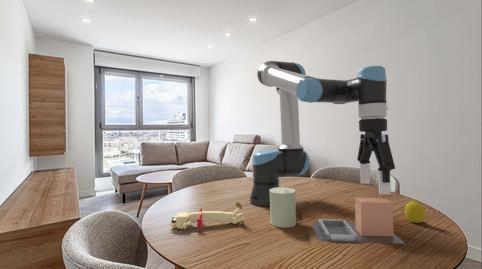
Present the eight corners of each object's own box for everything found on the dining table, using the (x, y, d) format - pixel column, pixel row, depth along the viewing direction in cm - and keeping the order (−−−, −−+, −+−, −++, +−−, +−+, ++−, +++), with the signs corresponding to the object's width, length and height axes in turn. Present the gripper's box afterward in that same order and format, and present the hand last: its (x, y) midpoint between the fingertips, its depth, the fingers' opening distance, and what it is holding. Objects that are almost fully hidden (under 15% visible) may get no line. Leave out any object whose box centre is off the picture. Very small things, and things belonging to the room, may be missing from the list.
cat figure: (239, 221, 93) (171, 221, 88) (240, 198, 93) (172, 197, 88) (244, 232, 83) (167, 232, 79) (245, 206, 83) (169, 205, 78)
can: (280, 230, 80) (279, 193, 80) (264, 220, 88) (264, 187, 88) (301, 224, 85) (301, 189, 84) (285, 216, 93) (284, 184, 92)
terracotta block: (361, 235, 73) (361, 202, 73) (355, 228, 78) (355, 197, 78) (393, 236, 72) (393, 202, 72) (385, 229, 77) (385, 197, 77)
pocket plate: (319, 243, 70) (319, 236, 70) (311, 224, 84) (311, 218, 84) (405, 246, 67) (405, 238, 67) (382, 226, 81) (382, 219, 81)
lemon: (426, 228, 79) (425, 204, 79) (405, 225, 82) (405, 201, 82) (424, 222, 83) (424, 199, 83) (404, 220, 86) (404, 197, 86)
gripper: (409, 115, 61) (411, 199, 62) (368, 120, 86) (370, 180, 86) (377, 116, 62) (379, 199, 62) (346, 120, 87) (348, 180, 87)
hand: (374, 188), depth 74 cm, fingers open, 13 cm apart
